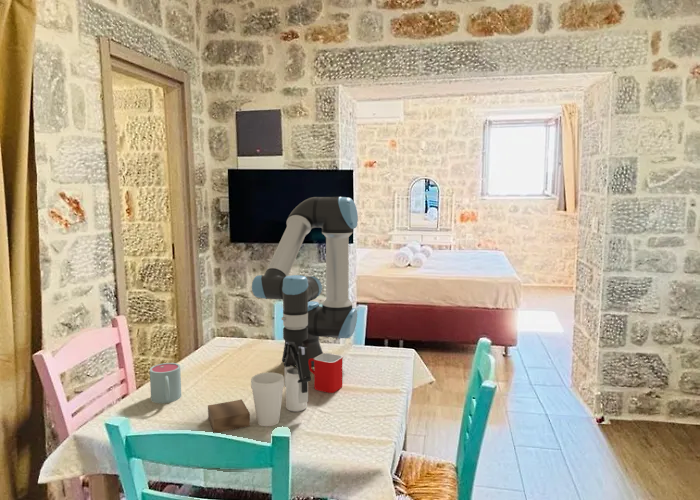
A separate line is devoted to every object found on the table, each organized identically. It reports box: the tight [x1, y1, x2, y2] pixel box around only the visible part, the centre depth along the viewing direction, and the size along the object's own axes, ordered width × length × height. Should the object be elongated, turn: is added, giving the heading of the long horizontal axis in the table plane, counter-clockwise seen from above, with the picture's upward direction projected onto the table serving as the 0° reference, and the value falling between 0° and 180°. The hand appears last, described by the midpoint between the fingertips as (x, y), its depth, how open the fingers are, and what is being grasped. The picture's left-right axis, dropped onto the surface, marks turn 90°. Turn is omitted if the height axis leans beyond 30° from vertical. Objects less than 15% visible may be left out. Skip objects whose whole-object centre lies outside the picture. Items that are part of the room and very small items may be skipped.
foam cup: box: [250, 371, 285, 427], centre depth 142 cm, size 10×9×13 cm
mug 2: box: [309, 352, 344, 394], centre depth 168 cm, size 12×8×11 cm
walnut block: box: [207, 399, 251, 433], centre depth 142 cm, size 10×10×4 cm
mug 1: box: [149, 362, 182, 404], centre depth 157 cm, size 14×9×10 cm
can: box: [285, 366, 308, 413], centre depth 152 cm, size 6×6×12 cm
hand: (295, 394), depth 151 cm, fingers open, 13 cm apart
